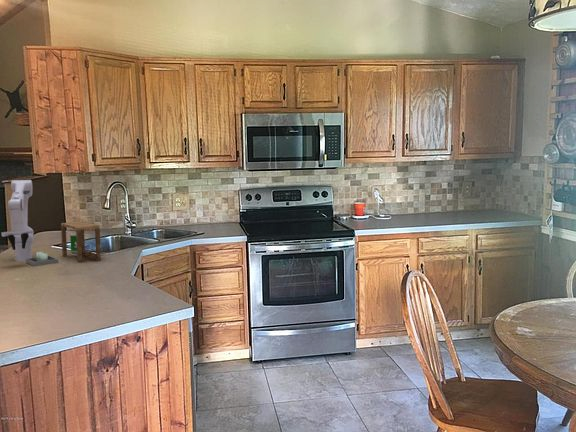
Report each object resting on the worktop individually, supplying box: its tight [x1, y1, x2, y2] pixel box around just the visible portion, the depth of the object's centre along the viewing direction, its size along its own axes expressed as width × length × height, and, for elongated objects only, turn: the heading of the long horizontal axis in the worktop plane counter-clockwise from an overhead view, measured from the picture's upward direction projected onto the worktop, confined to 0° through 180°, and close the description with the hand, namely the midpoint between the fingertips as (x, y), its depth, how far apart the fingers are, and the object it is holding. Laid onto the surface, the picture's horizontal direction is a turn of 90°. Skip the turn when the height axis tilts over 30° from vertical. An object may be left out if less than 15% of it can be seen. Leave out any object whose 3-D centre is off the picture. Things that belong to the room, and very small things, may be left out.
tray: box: [25, 255, 59, 267], centre depth 268 cm, size 12×12×3 cm
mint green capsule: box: [40, 253, 49, 261], centre depth 266 cm, size 4×4×5 cm
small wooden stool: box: [60, 221, 102, 263], centre depth 280 cm, size 22×12×19 cm, turn 45°
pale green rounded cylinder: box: [35, 251, 44, 262], centre depth 270 cm, size 4×4×5 cm
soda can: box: [69, 231, 77, 254], centre depth 298 cm, size 8×8×12 cm
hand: (18, 248), depth 260 cm, fingers open, 4 cm apart
